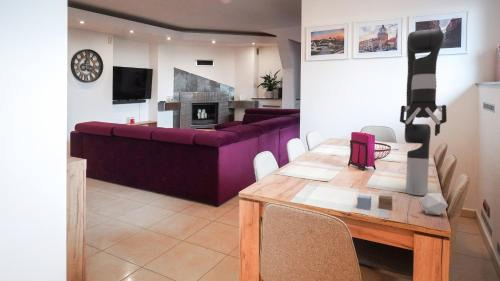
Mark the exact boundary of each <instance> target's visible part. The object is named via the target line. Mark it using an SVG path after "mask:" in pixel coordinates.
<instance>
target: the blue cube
mask: <svg viewBox="0 0 500 281" xmlns="http://www.w3.org/2000/svg"><path fill="white" fill-rule="evenodd" d="M356 198H357V200H356V208H357V209H360V210H367V211H370V210H371V207H372V196H371V195H364V194H362V195H361V194H358V196H357V197H356Z"/></svg>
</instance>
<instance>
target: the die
mask: <svg viewBox="0 0 500 281" xmlns="http://www.w3.org/2000/svg"><path fill="white" fill-rule="evenodd" d="M419 204H420V205H421V208H422V209H423V211H424V212H425V214H427V215H437V216H438V215H439V216H440V215H441V214H442V213H443V212H444V211H445V210H446V209H447V208H448V206H449V205H448V203H447V201H446V199H445V198H444V197H443V195H442V193H440V192H432V193H431V192H428V193H427V194H426V195H423V197H422V198H421V199H420V200H419Z"/></svg>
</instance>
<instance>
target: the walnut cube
mask: <svg viewBox="0 0 500 281" xmlns="http://www.w3.org/2000/svg"><path fill="white" fill-rule="evenodd" d="M377 208H378V209H382V210H389V211H392V208H393V195H392V196H391V195H383V194H382V195H381V194H380V195H379V196H378V207H377Z"/></svg>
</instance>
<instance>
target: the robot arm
mask: <svg viewBox="0 0 500 281" xmlns="http://www.w3.org/2000/svg"><path fill="white" fill-rule="evenodd" d="M443 41H444V32H443V30H441V29H440V28H430V29H422V30H414V31H411V32H409V34H408V35H407V41H406V42H407V43H406V44H407V46H406V47H407V49H406V50H407V51H406V52H407V53H406V54H407V78H406V80H407V81H406V105H401V106H400V114H399V115H400V116H399V122H400V123H401V124H404V125H405V126H404V127H405V128H404V141H405V142H406V143H407V144H421V145H420V146H419V147H418V148H415V149H412V150H408V151H407V152H406V153H407V154H406V156H407V157H406V178H405V180H406V182H405V193H406V194H409V195H413V196H425V195H426V194H427V193H429V192H428V191H429V188H428V187H429V168H430V167H429V166H430V143H431V133H432V132H431V129H432V128H431V126H430V124H427V123H424V124H423V123H414V120H415V118H419V119H421V118H424V119H428V118H430V119H432V121H433V122H434V123H435V125H434V136H436V137H437V136H438V135H439V134H440V133H441V125H442V124H446V123H447V120H448V119H447V105H446V104H442V105H437V102H436V99H437V75H436V74H437V63H438V62H437V61H438V58H439V57H438V56H439V54H440V53H439V52H440V50H441V48H442V46H443ZM428 53H429V54H428ZM417 54H428V55H425V56H421V57H418V58H417V57H416V55H417ZM436 110H438V111H439V112H440V113H441V119H439V118H438V117H437V115H435V114H434V113H435V112H436ZM405 113H406V114H405Z"/></svg>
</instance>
